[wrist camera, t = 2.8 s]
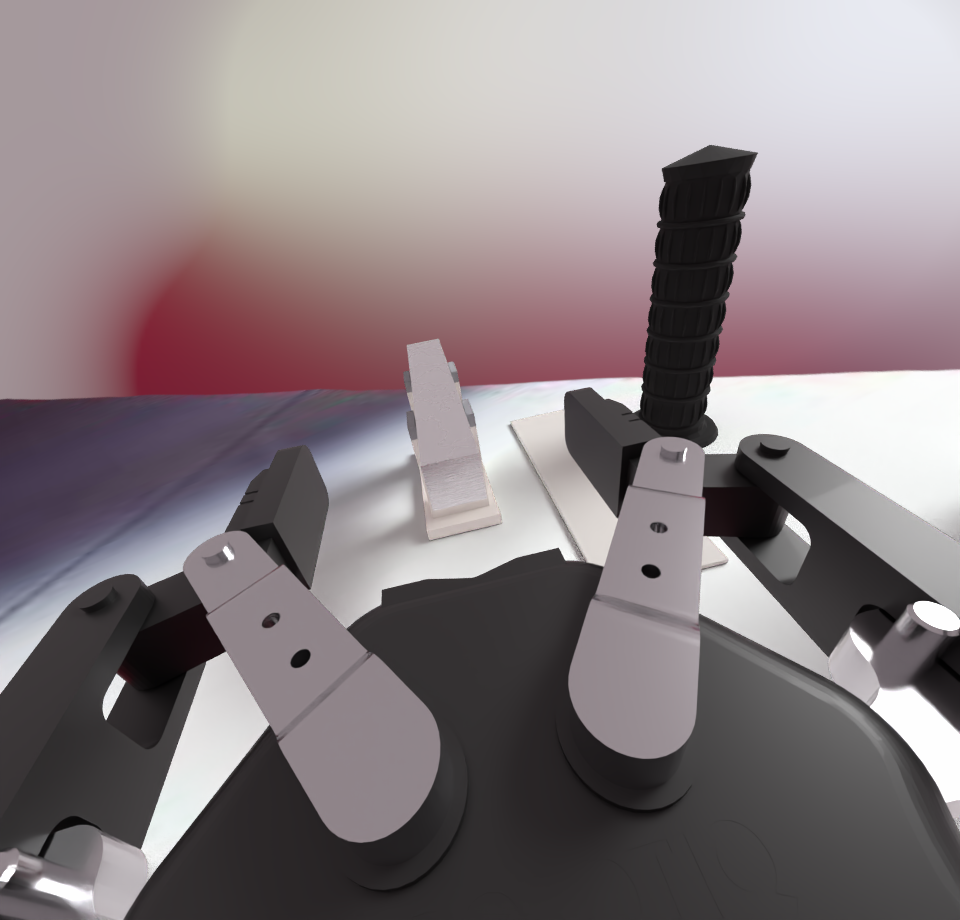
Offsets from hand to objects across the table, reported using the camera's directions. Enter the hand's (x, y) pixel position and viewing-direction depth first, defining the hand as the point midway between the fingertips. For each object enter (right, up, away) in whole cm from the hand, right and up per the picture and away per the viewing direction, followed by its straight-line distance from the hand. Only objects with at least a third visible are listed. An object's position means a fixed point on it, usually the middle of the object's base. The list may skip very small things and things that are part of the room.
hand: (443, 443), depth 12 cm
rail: (-2, +3, +23) cm, 23 cm away
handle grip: (+23, +3, +34) cm, 42 cm away
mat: (+13, -2, +29) cm, 32 cm away
